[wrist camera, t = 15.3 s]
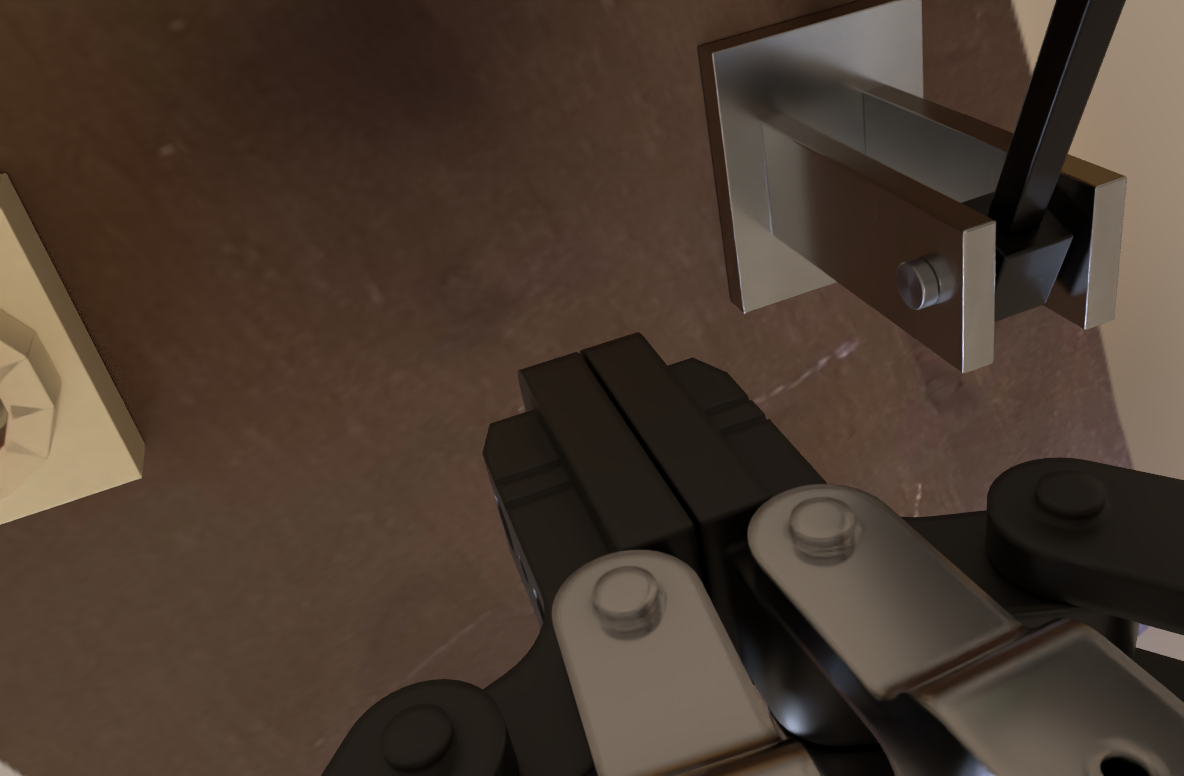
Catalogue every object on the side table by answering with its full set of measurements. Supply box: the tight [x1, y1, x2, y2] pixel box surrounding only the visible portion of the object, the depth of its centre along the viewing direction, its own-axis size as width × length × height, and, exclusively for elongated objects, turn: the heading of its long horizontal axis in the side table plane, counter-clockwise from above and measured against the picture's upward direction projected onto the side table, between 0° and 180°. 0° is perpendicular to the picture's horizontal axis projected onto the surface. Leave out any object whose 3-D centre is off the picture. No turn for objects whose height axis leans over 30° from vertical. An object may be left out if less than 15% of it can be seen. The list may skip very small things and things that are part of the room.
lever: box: [962, 0, 1126, 322], centre depth 26 cm, size 12×5×2 cm, turn 11°
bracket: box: [698, 0, 1127, 373], centre depth 33 cm, size 10×8×13 cm
